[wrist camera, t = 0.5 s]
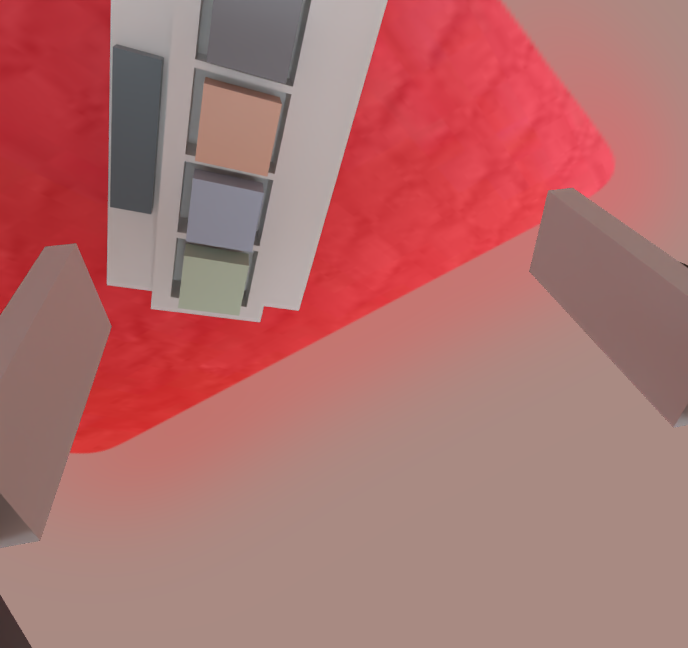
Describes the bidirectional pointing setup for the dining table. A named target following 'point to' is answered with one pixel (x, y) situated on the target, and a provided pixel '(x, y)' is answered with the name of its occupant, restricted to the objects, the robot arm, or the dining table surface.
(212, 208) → the key slate
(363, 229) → the dining table surface
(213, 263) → the key sage
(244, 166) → the key terracotta
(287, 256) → the keypad
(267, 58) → the key charcoal
